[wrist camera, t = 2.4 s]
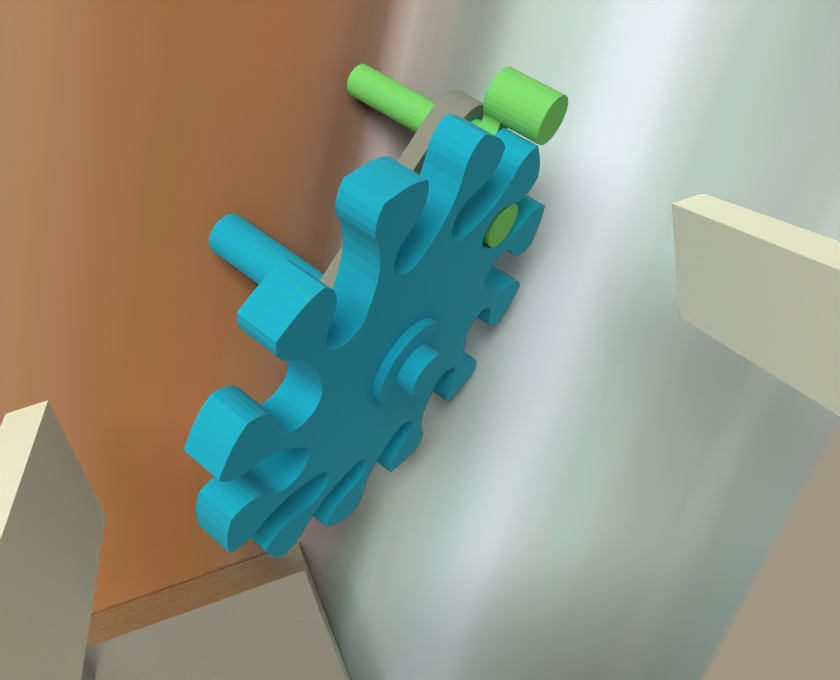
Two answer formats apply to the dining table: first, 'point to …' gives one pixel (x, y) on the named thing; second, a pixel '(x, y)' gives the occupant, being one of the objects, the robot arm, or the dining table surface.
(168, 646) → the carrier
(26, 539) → the robot arm
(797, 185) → the dining table surface
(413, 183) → the gear
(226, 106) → the dining table surface
